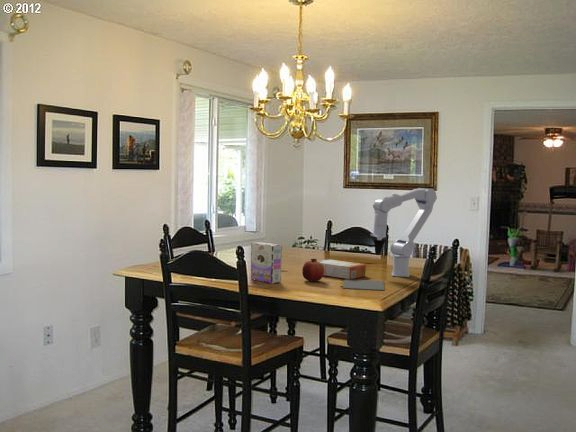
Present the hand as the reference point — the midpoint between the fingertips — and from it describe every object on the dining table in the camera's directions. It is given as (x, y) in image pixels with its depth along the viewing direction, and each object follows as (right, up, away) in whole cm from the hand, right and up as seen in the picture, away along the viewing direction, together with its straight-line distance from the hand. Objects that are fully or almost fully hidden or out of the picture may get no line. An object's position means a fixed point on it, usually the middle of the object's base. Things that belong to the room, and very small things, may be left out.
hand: (377, 254), depth 281 cm
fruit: (-30, -11, -14) cm, 35 cm away
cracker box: (-9, -8, -4) cm, 13 cm away
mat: (-9, -12, -20) cm, 25 cm away
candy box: (-51, -11, -17) cm, 55 cm away
